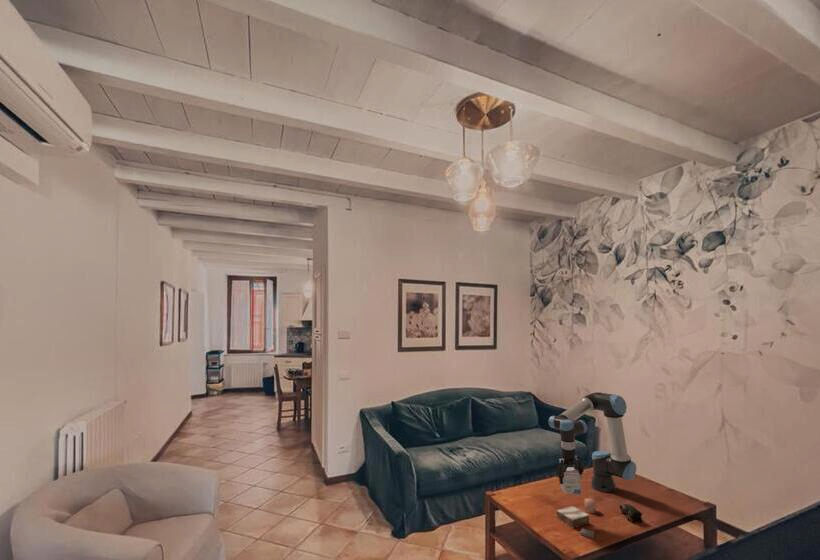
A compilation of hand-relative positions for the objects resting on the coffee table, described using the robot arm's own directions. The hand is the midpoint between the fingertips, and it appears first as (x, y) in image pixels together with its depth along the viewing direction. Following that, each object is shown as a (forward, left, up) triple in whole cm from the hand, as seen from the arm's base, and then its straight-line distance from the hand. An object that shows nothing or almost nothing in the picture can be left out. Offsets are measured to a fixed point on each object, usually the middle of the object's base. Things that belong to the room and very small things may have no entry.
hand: (571, 487), depth 221 cm
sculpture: (+12, +32, -18) cm, 38 cm away
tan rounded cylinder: (-4, +18, -18) cm, 26 cm away
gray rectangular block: (+14, -4, -18) cm, 23 cm away
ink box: (0, 0, -2) cm, 2 cm away
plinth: (0, 0, -18) cm, 18 cm away
